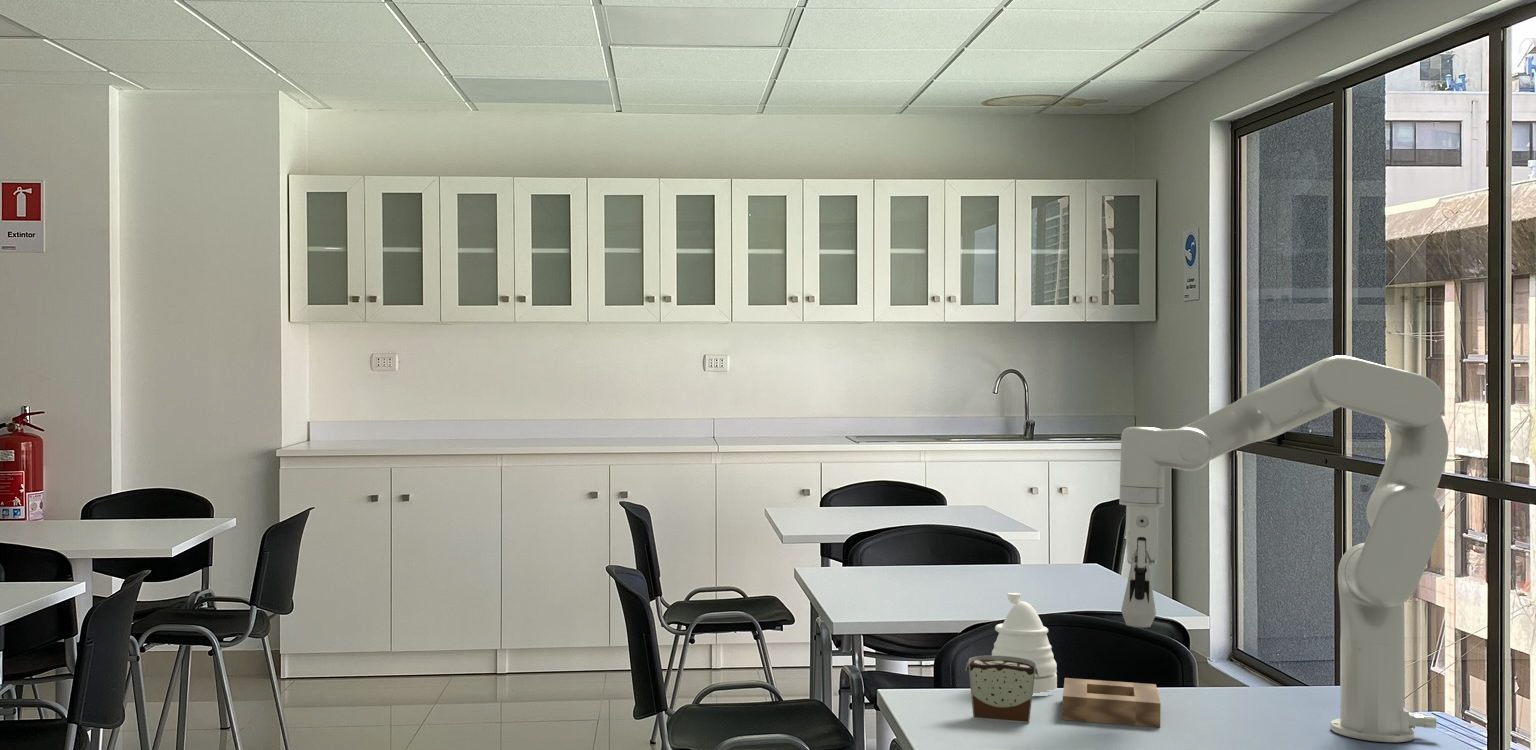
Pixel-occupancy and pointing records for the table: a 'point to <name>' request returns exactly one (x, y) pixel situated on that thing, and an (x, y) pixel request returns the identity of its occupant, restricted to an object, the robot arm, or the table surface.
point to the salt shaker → (1138, 604)
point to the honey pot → (1027, 642)
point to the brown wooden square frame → (1111, 702)
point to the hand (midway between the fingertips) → (1138, 601)
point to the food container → (1001, 687)
